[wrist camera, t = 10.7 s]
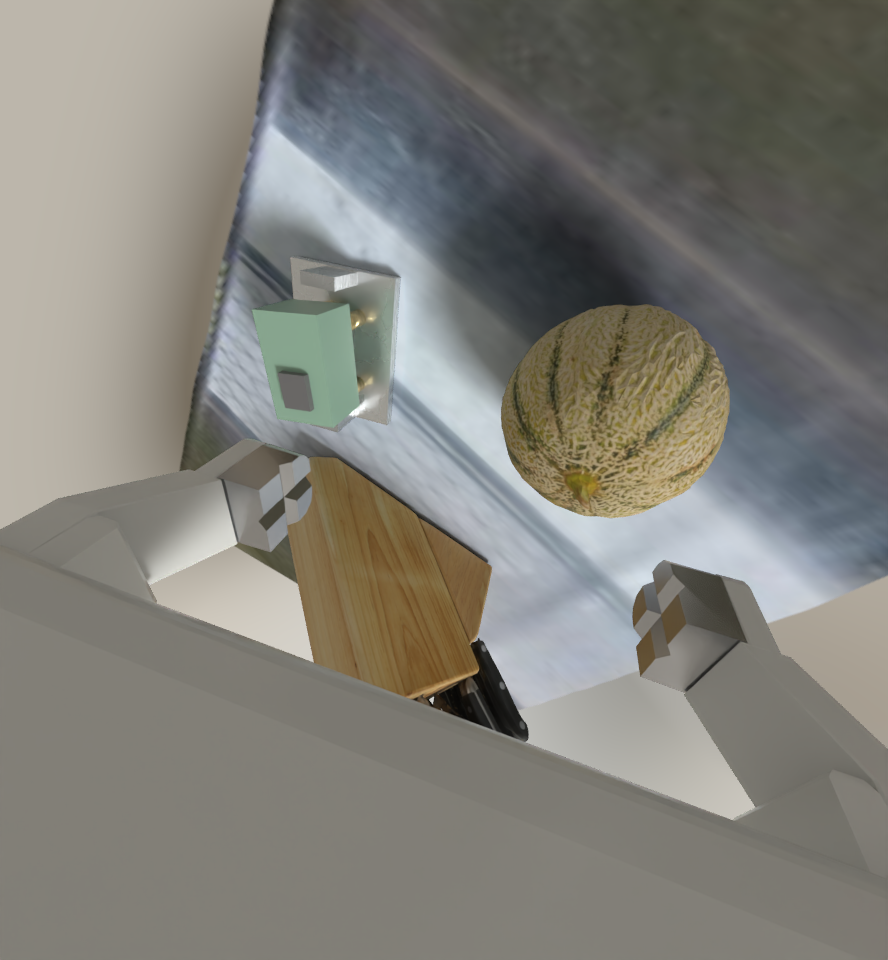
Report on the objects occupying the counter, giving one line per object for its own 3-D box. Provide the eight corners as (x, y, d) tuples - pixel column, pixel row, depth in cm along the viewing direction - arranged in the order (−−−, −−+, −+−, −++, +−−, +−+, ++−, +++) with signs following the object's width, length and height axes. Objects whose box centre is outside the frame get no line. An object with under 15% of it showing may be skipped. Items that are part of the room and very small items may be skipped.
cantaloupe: (729, 296, 28) (843, 350, 16) (662, 466, 36) (704, 586, 24) (525, 284, 31) (494, 321, 19) (506, 443, 40) (475, 539, 28)
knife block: (498, 637, 57) (437, 956, 32) (295, 497, 53) (47, 740, 28) (551, 605, 50) (527, 975, 26) (324, 442, 46) (33, 696, 21)
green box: (290, 299, 33) (246, 310, 29) (349, 303, 32) (312, 316, 28) (308, 398, 38) (273, 421, 34) (359, 405, 37) (329, 430, 33)
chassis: (297, 256, 35) (260, 260, 31) (400, 277, 34) (375, 285, 30) (308, 398, 43) (279, 416, 39) (391, 420, 42) (370, 442, 38)
